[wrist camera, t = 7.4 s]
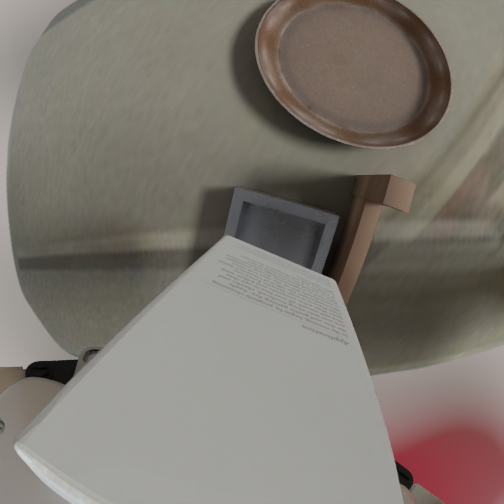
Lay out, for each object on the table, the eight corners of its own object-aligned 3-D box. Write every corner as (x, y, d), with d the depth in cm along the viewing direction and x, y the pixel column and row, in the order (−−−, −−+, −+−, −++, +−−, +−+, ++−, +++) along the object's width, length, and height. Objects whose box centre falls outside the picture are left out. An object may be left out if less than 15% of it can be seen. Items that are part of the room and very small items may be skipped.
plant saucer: (221, 86, 25) (212, 75, 21) (314, -25, 18) (315, -40, 15) (389, 192, 25) (401, 194, 22) (458, 64, 19) (471, 56, 16)
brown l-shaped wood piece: (374, 181, 25) (416, 185, 15) (314, 348, 31) (318, 409, 21) (348, 172, 25) (378, 169, 15) (291, 343, 31) (287, 403, 21)
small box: (277, 384, 16) (245, 580, 4) (185, 347, 16) (77, 521, 4) (339, 277, 14) (421, 552, 1) (226, 229, 14) (-7, 434, 1)
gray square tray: (333, 211, 26) (339, 216, 23) (300, 312, 30) (300, 328, 26) (242, 186, 27) (234, 187, 24) (218, 288, 30) (209, 301, 27)
